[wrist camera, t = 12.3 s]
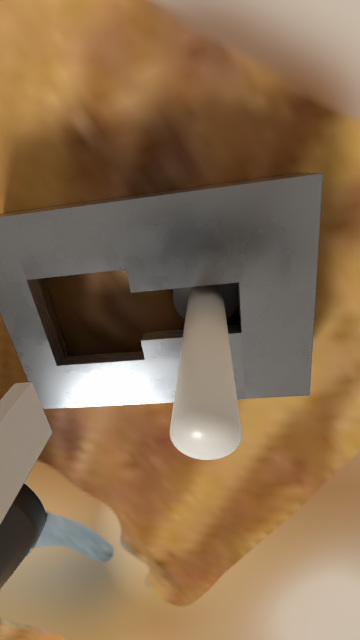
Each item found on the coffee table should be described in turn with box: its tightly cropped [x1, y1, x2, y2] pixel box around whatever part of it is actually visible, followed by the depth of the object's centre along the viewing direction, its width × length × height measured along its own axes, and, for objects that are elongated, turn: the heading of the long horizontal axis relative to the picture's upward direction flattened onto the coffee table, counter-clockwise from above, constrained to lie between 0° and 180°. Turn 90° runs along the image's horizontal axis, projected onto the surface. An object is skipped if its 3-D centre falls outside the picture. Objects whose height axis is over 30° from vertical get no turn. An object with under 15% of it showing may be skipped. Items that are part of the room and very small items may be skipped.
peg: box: [170, 283, 242, 460], centre depth 17 cm, size 5×5×14 cm
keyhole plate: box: [0, 173, 323, 409], centre depth 22 cm, size 20×14×4 cm
